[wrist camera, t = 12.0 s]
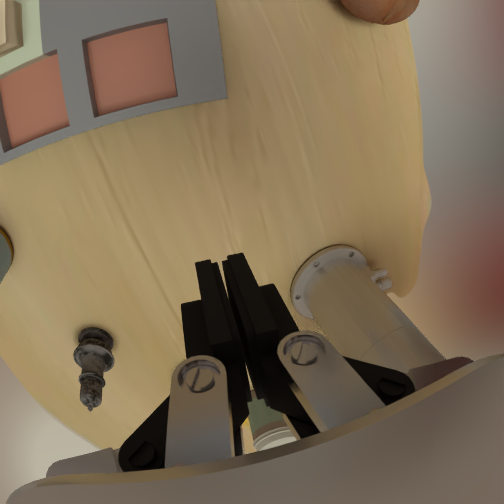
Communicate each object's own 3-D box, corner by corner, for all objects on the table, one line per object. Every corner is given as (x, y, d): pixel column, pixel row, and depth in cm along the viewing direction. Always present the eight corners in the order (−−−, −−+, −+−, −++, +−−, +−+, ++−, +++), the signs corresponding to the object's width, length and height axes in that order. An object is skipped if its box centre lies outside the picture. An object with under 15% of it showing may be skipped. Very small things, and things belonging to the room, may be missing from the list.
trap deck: (203, -52, 19) (214, -77, 14) (222, 97, 28) (236, 99, 23) (-19, 19, 14) (-46, 12, 9) (2, 162, 24) (-24, 179, 19)
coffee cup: (229, 402, 54) (245, 456, 44) (258, 378, 52) (281, 433, 42) (260, 410, 59) (278, 458, 49) (289, 387, 57) (312, 436, 47)
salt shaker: (69, 340, 37) (58, 409, 27) (90, 319, 37) (81, 391, 27) (100, 359, 41) (98, 427, 31) (123, 340, 40) (123, 411, 30)
